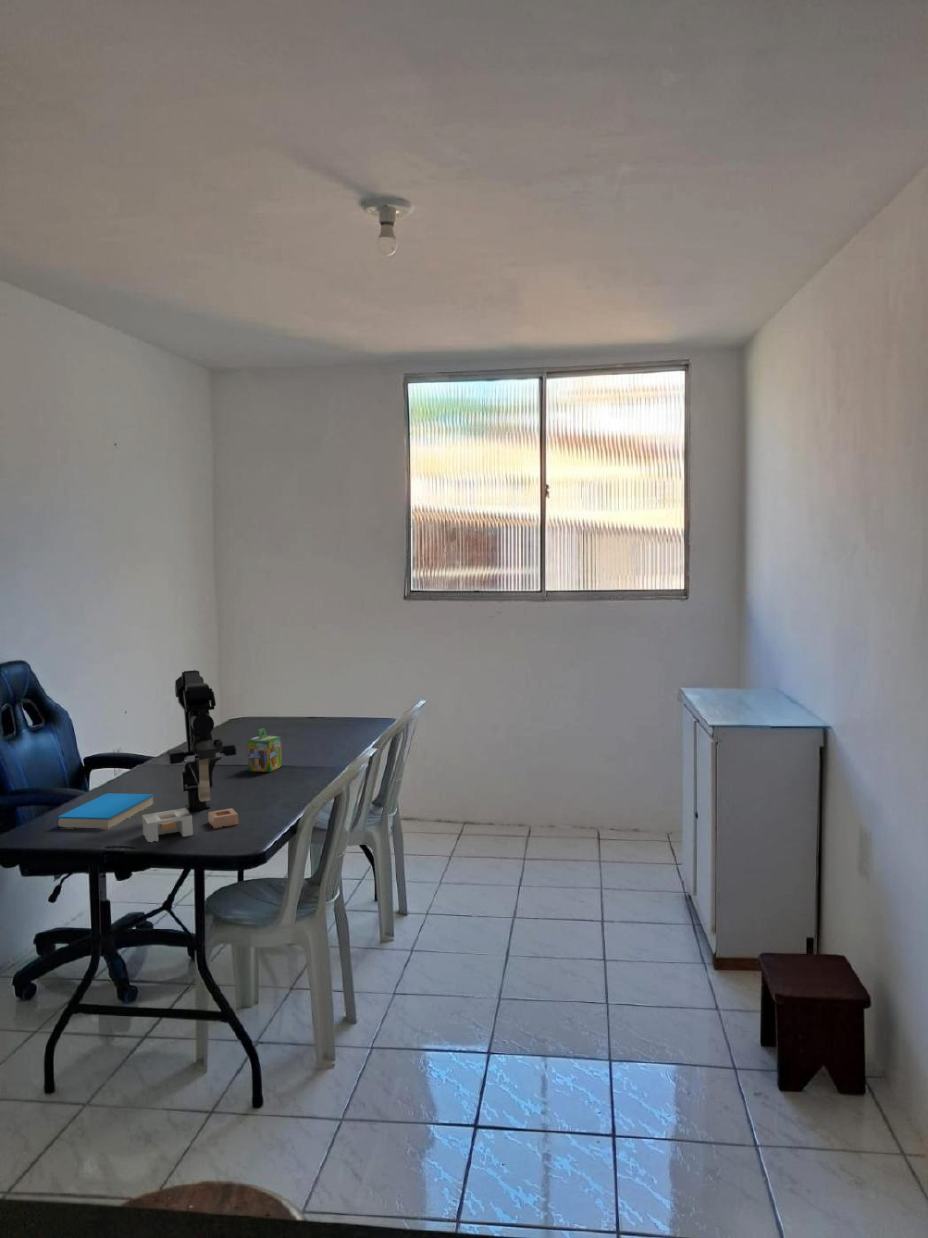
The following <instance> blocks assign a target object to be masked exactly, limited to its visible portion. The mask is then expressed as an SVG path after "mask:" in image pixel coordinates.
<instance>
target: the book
mask: <svg viewBox="0 0 928 1238" xmlns="http://www.w3.org/2000/svg"><path fill="white" fill-rule="evenodd" d="M152 804H153V805H154V793H153V794H151V793H149V794H148V793H107V792H106V793H105V794H102V795H101V796H99V797H97V798H95V799H92V800H90V801H88V802H86V803H84V804H81V805H80V806H77V807H75V808H73V809H71V810H69V811H67V812H65V813H63V814H60V815H58V816H57V821H56V825H57V827H58V826H62V827H86V828H103V829H102V830H110V829H111V828H110V827H112V826H114V827H115V825H116V826H118V825H119V824H121V823H123V822H124V821H123V820H125V819H126V818H129V819H131V818H132V817H134V816H135V815H134V814H136V813H138V812H139V811H142V810H143V811H145V810H147V809H148V808H147V807H149V806H151V805H152ZM151 807H152V806H151ZM146 808H147V809H146ZM149 808H150V807H149ZM144 809H145V810H144ZM143 811H142V812H143ZM138 814H139V813H138ZM133 815H134V816H133ZM136 815H137V814H136ZM131 816H132V817H131ZM122 821H123V822H122ZM125 821H126V820H125ZM120 822H121V823H120ZM118 823H119V824H118ZM117 824H118V825H117ZM109 828H110V829H109ZM112 828H113V827H112Z"/></svg>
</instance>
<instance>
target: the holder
mask: <svg viewBox="0 0 928 1238" xmlns="http://www.w3.org/2000/svg"><path fill="white" fill-rule="evenodd" d="M207 814H208V815H207V816H208V818H207V819H208V823H209V825H211V827H212V826H213V827H212V828H213V829H218V828H224V827H223V826H225V827H231V826H235V825H236V826H237V825H239V814H238V812H236V810H235V809H233V808H232V807H231V808H226V809H220V810H214V811H208V812H207Z"/></svg>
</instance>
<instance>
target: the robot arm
mask: <svg viewBox="0 0 928 1238" xmlns="http://www.w3.org/2000/svg"><path fill="white" fill-rule="evenodd" d="M174 682H175V683H174V693H175V698H177V703H178V704H179V705H180V707H181V708H182V709H183V713H184V726H185V727H184V729H185V739H186V750H187V751H183V750H181V749H174V750H168V751H167V752H166V753H165V759H166V760H165V761H166V762H168V763H169V764H170V765H176V764H181V763H184V765H183V767H182V768H183V769H182V770H183V771H181V780H180V781H181V791H182V792H186V795H187V804H185V805H184V808H186V809H187V810H188V812H194V811H201V810H207V809H210V808H211V806H210V804H208V801H202V802H201V801H200V800H199V792H198V784H199V774H198V768H197V760H196V759H197V758H199V759H200V760H204V759H208V770H209V786H210V789H212V787H213V771H214V769H215V766H216V763H217V762H219V761H221V760H222V757H221V754H223V755H224V756H226V757H230V756H236V755H237V753H238V752H237V747H236V745H235V744H233V743H231V742H224V743H223V740H222V738H219V739H214V740H213V735H212V731H213V730H214V728H215V721H214V719H213V718H212V716H211V714H210V711H212V710H213V711H214V710H215V707H216V697H215V693H214V691H213V689H212V688H211V687H210V685H209V684H208V683H206V682H205V681H204V677H202V675H200V671H199V670H197V669H195V670H194V669H193V670H183V671H182V672H181V675H180V676H179V677H178V678H177V679H176V680H175V681H174Z"/></svg>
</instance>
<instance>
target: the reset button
mask: <svg viewBox="0 0 928 1238" xmlns="http://www.w3.org/2000/svg"><path fill="white" fill-rule="evenodd" d="M160 827H161V828H162V830H165V829H171V828H176V822H170V823H164V824H160Z"/></svg>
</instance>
